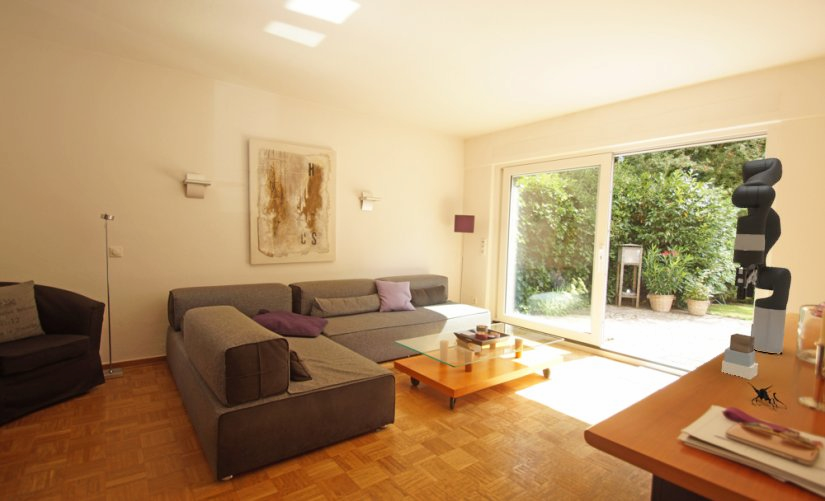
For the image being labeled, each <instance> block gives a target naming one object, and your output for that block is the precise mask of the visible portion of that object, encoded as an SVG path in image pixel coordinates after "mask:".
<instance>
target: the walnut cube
mask: <svg viewBox="0 0 825 501" xmlns="http://www.w3.org/2000/svg"><path fill="white" fill-rule="evenodd" d="M754 340H755V337H752V336H751V335H748V334H747V335H746V334H741V333H733V334H731V335H730V341H729V347H730V350H734V351H738V352H743V353H747V354H748V353H751V352H753V351H755V350H754Z"/></svg>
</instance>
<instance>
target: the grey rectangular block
mask: <svg viewBox="0 0 825 501" xmlns="http://www.w3.org/2000/svg"><path fill="white" fill-rule="evenodd" d="M723 361H724V362H729V363H733V364H737V365H742V366H746V367H750V366H752V365H753V364H754V363H756V351H755V350H754V351H753V352H751V353H748V354H747V353H743V352H738V351H734V350H730V346H729V347H727V348H725V349H724V359H723Z"/></svg>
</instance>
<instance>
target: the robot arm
mask: <svg viewBox="0 0 825 501" xmlns="http://www.w3.org/2000/svg"><path fill="white" fill-rule="evenodd" d="M741 176H742V182H743V183H742V184H740V185H738V186H737V187H736V188H735V189H734V190H733V192H732V194H731V196H730V197H731V198H730V199H731V203H732V205H733V206H734V207H736V208H738V209H747V215H741V216H740V217H738V218H737V220H736V231H735V237H734V238H735V239H734V244H733V256H732V259H733V260H732V262H733V263H735V264H740V266H739V267H738V266H737V267H736V268H735V278H734V287H736V299H737V300H738V301H745V300H746V299H747V298H754V295H755V288H756V289H759V290H766V291H771V292H772V294H771V295H769V296H767V297H760V298H759V297H758V298H756V299H755V300H754V307H753V308H754V309H753V321H752V322H753V323H751V324H750V325H751V326H750V327H751V328H750V336H752V337H755V340H754V348H755V349H757V350H761V351H765V352H774V353H779V352H782V353H783V349H784V336H785V327H786V319H787V318H786V317H787V305H788V302H789V297H790V291H791V290H790V289H791V284H792V273H791V271H790V270H789V268H787V267H779V266H767V257H768V254H769V252H770V251H771V249H772V248H773V247H774V245H775V244H776V243H777V242H778V240H780V237H781V235H782V224H781V218H780V215H779V214H778V212H777V211H776V210H775V209H774V208H773V207H772V206H773V204H774V202H775V199H776V196H777V193H776V190H775V188H773V186H775V185H776V184H777V183H779V182H780V181H781V179H782V177H783V164H782V161H781V159H779V158H776V157H769V158H761V159H754V160H749V161H745V162H744V163H743V164H742V167H741Z"/></svg>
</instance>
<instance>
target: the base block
mask: <svg viewBox="0 0 825 501" xmlns="http://www.w3.org/2000/svg"><path fill="white" fill-rule="evenodd" d="M758 369H759V363H757V362H754V364H753V365H752V366H750V367H746V366H742V365H737V364H733V363H729V362H724V360H722V361H721V370H720V371H721V373H723V372H724V374H726V373H728V374H727V375H730V374H731V376H734V375H736V376H735V377H738V376H740V377H739V378H742V377H743V379H746V380H752V379H753V378H755V377H757V375H758Z"/></svg>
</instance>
